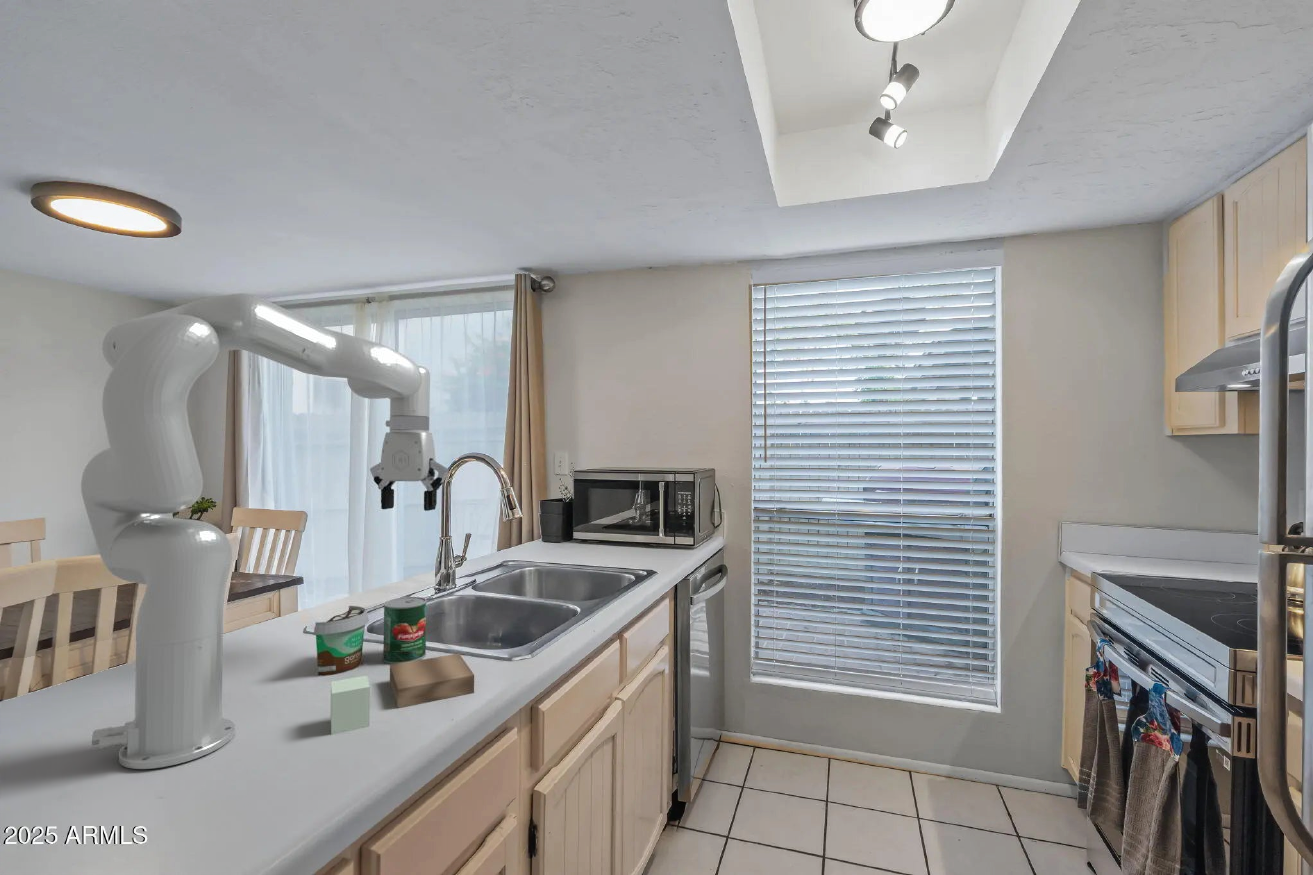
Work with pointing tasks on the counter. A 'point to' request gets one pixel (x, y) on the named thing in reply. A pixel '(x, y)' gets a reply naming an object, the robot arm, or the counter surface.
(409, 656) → the canned tomato
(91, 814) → the counter surface
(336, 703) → the sage block
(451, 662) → the walnut base
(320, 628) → the food container
